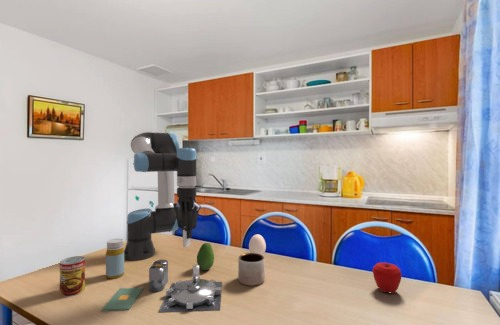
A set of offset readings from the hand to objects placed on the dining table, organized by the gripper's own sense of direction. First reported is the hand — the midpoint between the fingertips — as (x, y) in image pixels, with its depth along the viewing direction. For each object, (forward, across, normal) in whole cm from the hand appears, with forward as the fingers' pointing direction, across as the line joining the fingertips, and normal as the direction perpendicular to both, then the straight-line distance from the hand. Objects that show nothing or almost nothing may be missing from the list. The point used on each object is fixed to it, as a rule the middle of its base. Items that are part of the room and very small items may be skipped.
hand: (186, 246), depth 105 cm
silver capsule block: (+16, -9, -6) cm, 19 cm away
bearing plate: (+16, +8, -5) cm, 18 cm away
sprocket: (+16, +8, -5) cm, 18 cm away
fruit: (+16, -3, +15) cm, 22 cm away
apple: (+16, +69, +36) cm, 79 cm away
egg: (+16, +9, +41) cm, 45 cm away
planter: (+16, +20, +17) cm, 30 cm away
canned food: (+16, -33, -26) cm, 45 cm away
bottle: (+16, -32, -10) cm, 37 cm away
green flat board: (+16, -11, -20) cm, 27 cm away
